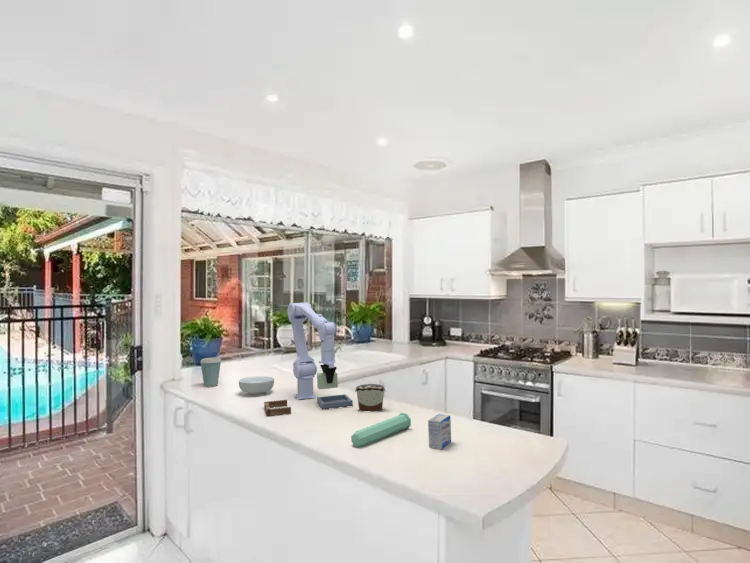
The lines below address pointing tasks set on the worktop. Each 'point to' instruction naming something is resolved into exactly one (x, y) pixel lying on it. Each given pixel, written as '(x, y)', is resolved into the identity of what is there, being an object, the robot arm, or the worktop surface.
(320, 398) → the tray
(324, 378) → the tall sage green block
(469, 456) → the worktop surface
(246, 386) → the cereal bowl
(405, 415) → the container
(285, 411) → the holder
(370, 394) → the food container
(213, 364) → the disposable coffee cup
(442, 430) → the medicine box
